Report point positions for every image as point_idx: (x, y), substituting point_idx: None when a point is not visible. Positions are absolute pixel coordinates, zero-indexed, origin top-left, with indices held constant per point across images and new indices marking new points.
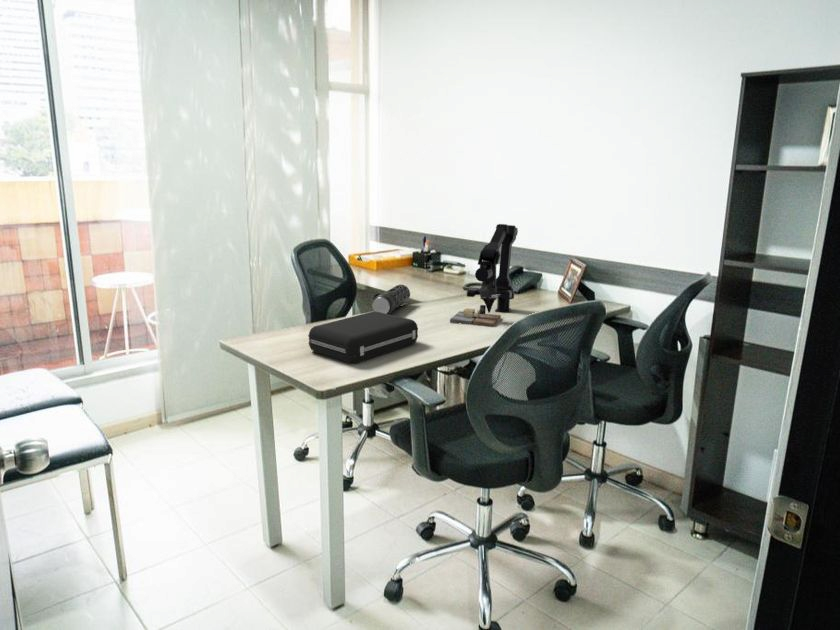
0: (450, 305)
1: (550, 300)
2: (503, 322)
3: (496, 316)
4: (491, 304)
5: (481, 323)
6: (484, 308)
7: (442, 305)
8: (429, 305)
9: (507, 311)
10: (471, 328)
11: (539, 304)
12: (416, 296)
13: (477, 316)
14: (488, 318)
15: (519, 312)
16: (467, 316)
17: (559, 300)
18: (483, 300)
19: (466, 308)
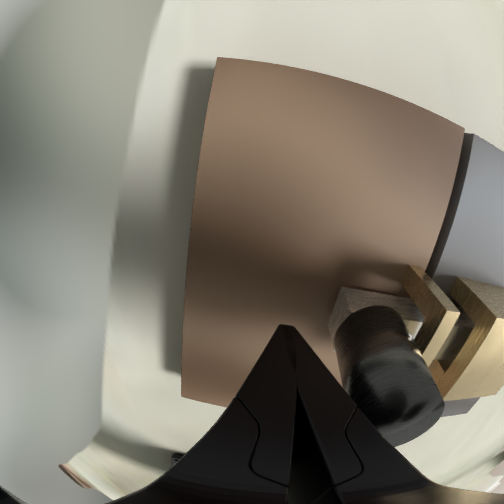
0: (430, 473)
1: (107, 489)
2: (139, 269)
3: (208, 364)
4: (222, 428)
5: (369, 91)
6: (371, 374)
7: (456, 462)
8: (493, 444)
9: (177, 458)
10: (434, 12)
11: (113, 481)
12: (473, 480)
13: (424, 277)
14: (288, 287)
15: (128, 446)
16: (492, 289)
17: (90, 483)
18: (467, 491)
19: (497, 389)
